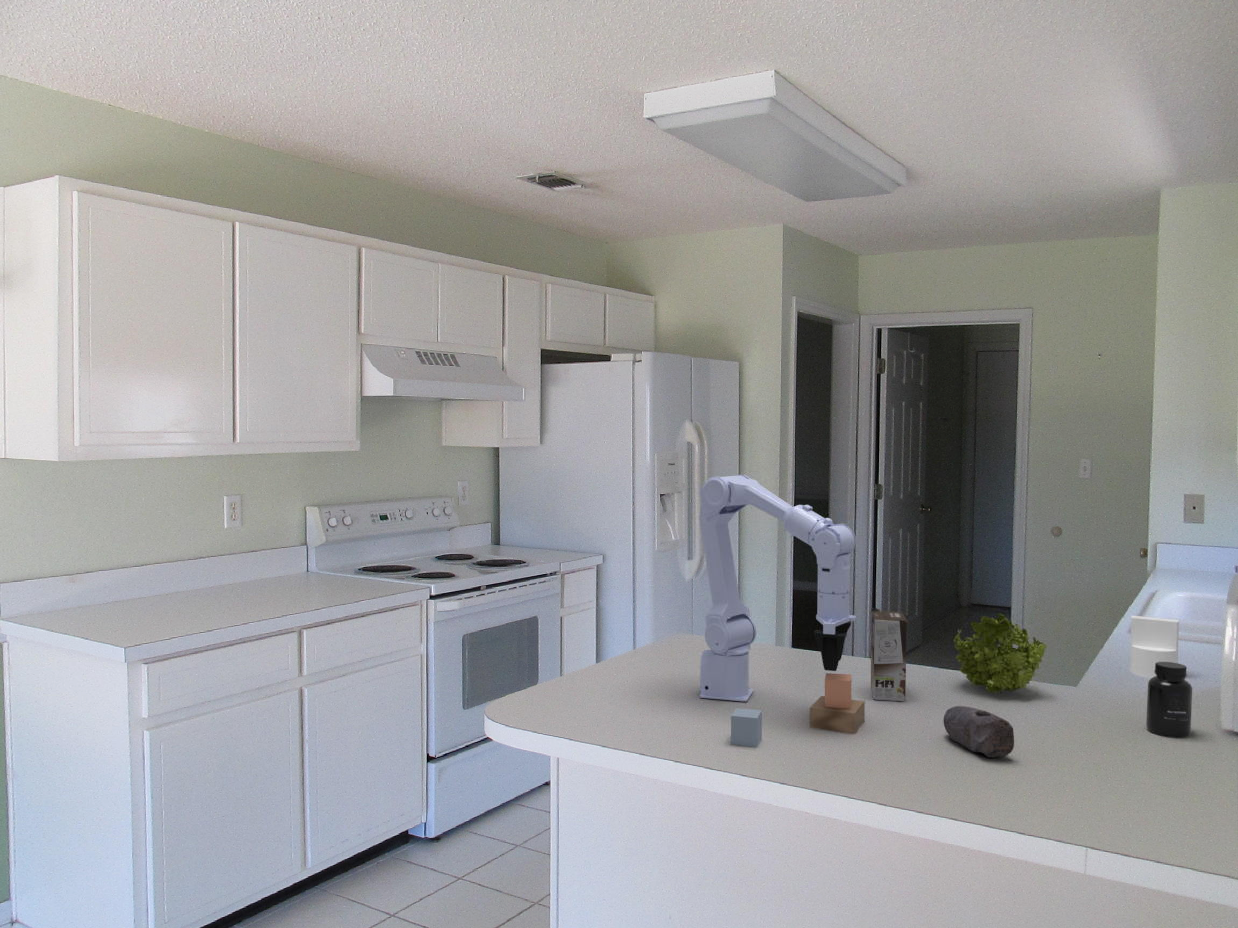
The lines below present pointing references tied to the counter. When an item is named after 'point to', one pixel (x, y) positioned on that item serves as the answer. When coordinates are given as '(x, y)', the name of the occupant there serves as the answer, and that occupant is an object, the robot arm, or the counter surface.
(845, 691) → the terracotta block
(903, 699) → the coffee box
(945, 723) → the perforated stone tool
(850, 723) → the walnut block
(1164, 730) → the supplement bottle
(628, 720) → the counter surface
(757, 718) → the slate-grey block
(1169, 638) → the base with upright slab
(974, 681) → the lettuce head
